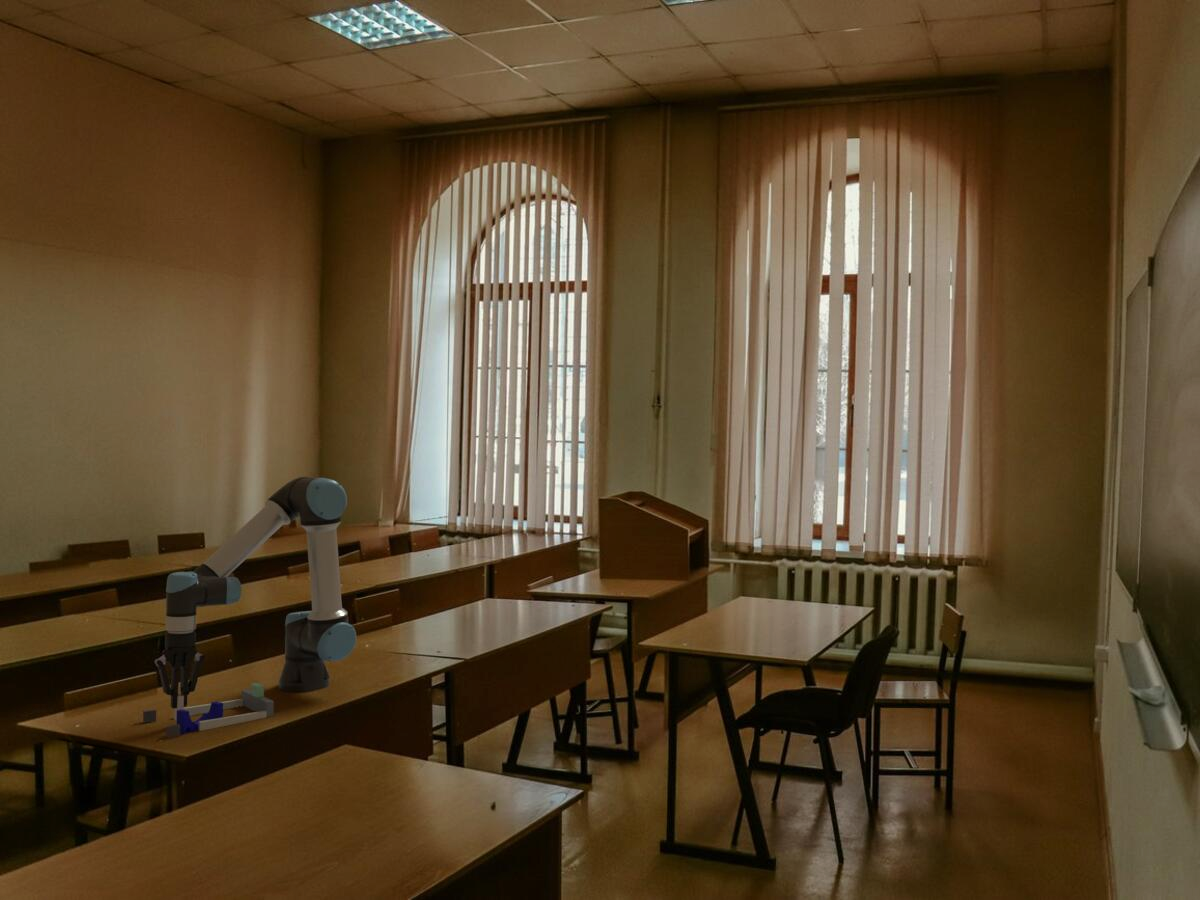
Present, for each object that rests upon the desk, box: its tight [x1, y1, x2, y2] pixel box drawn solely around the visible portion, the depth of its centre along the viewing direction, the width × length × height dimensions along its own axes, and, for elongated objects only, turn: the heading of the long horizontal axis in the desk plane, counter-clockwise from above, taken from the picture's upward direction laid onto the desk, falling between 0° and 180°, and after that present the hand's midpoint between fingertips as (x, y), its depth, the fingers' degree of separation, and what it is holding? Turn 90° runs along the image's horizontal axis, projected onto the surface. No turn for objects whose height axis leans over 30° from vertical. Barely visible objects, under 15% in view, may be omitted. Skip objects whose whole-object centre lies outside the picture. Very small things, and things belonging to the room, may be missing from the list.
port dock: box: [183, 682, 275, 732], centre depth 281 cm, size 20×17×8 cm
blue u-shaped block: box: [176, 701, 224, 735], centre depth 271 cm, size 12×4×6 cm, turn 148°
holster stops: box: [142, 709, 181, 740], centre depth 270 cm, size 3×20×3 cm, turn 41°
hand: (178, 719), depth 273 cm, fingers closed
